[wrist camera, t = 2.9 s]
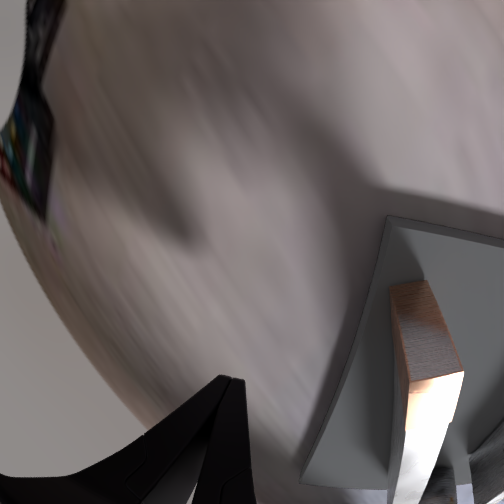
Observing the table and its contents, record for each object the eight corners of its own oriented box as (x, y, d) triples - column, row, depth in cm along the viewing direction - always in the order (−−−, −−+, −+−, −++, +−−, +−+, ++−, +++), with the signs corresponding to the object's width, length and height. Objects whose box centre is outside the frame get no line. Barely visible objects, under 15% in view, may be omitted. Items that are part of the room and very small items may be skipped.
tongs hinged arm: (447, 484, 14) (450, 530, 10) (384, 495, 16) (380, 543, 12) (515, 260, 8) (575, 334, 4) (388, 286, 9) (409, 382, 6)
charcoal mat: (496, 468, 14) (498, 478, 13) (301, 471, 17) (298, 483, 17) (630, 277, 6) (639, 286, 5) (387, 215, 10) (392, 226, 9)
